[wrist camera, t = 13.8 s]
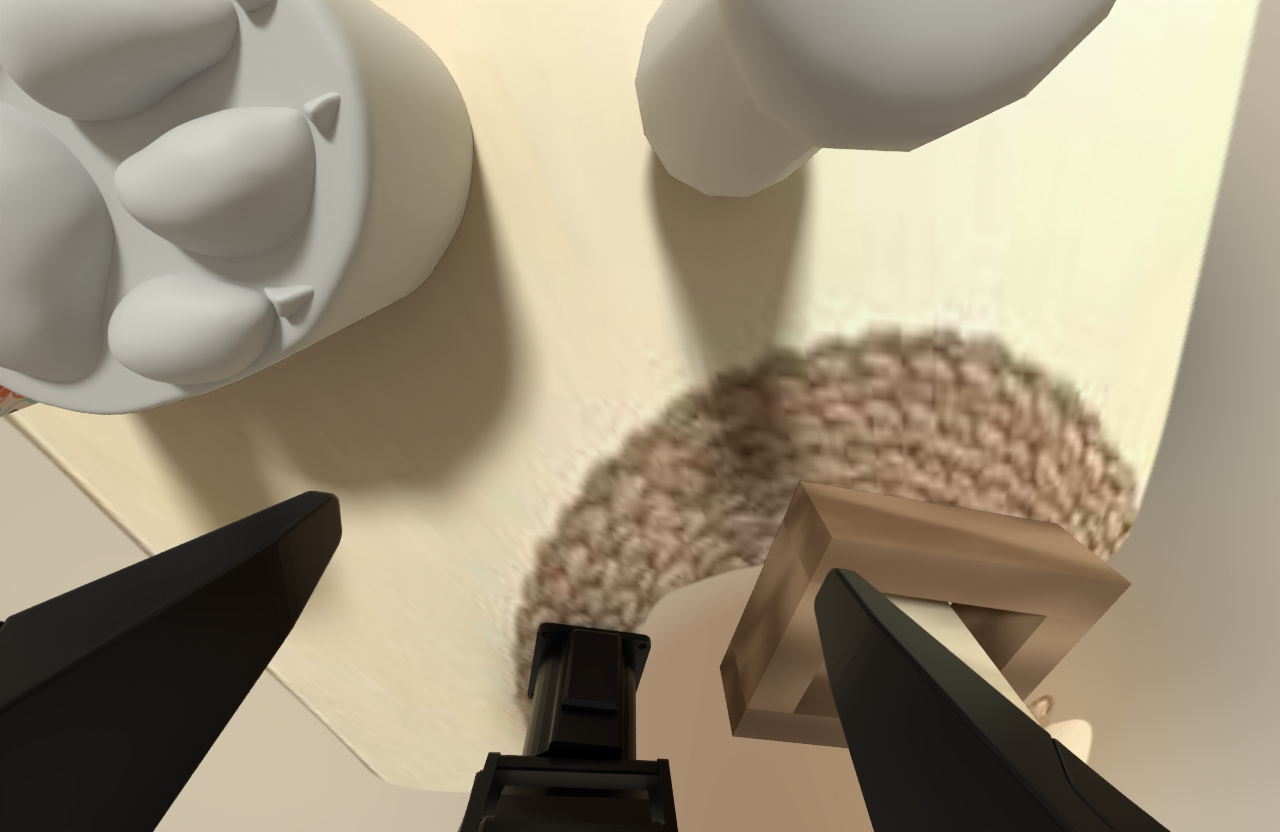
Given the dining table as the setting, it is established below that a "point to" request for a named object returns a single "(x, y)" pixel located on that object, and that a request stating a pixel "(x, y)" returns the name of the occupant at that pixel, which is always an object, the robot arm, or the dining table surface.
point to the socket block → (911, 566)
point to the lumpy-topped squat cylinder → (211, 188)
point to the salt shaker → (835, 77)
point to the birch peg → (956, 640)
